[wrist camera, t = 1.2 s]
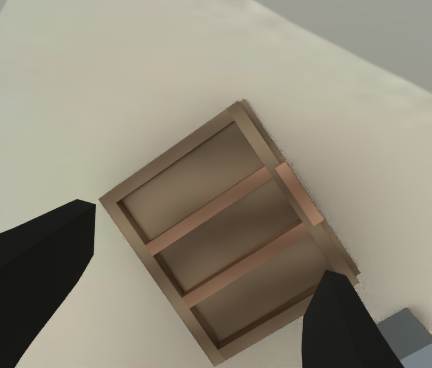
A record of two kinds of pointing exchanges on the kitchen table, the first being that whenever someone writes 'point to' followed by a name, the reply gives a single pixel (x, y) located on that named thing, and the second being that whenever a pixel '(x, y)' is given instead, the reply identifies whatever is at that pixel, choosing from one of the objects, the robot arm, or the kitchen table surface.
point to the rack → (228, 233)
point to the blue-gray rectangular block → (408, 339)
